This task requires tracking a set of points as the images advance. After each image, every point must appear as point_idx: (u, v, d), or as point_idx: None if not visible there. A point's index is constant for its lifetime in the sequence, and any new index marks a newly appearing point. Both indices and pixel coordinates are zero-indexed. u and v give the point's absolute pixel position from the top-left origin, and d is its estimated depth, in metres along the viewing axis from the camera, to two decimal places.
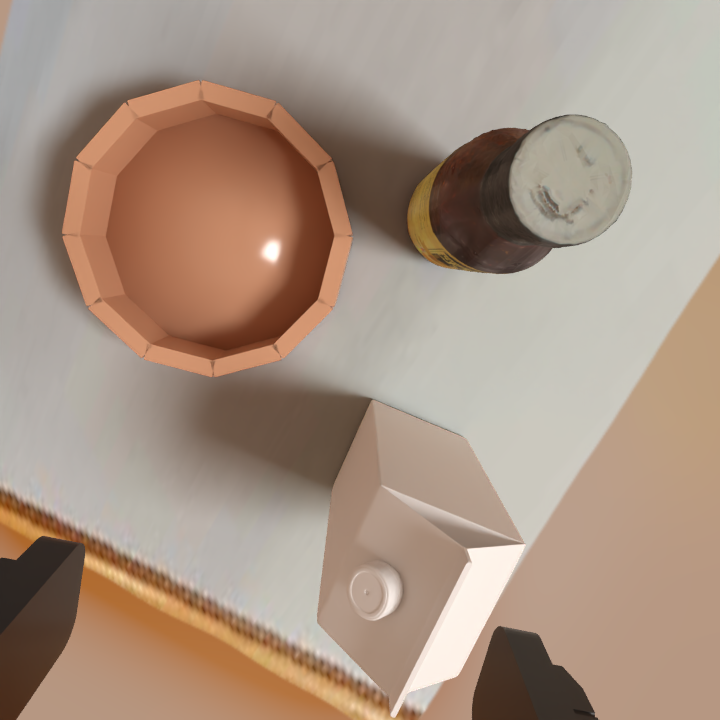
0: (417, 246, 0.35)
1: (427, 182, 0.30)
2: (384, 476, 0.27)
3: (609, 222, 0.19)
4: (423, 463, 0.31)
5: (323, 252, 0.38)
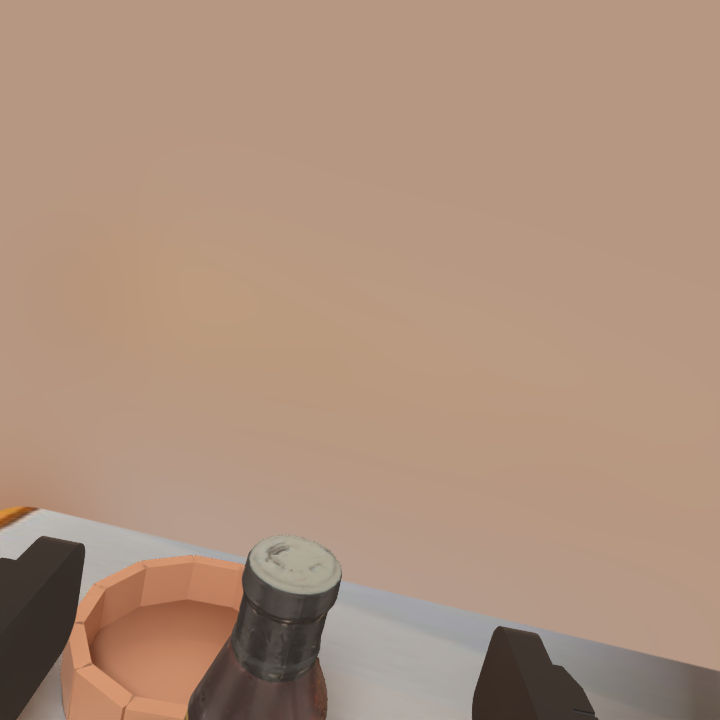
0: None
1: None
2: None
3: (270, 580, 0.23)
4: None
5: None
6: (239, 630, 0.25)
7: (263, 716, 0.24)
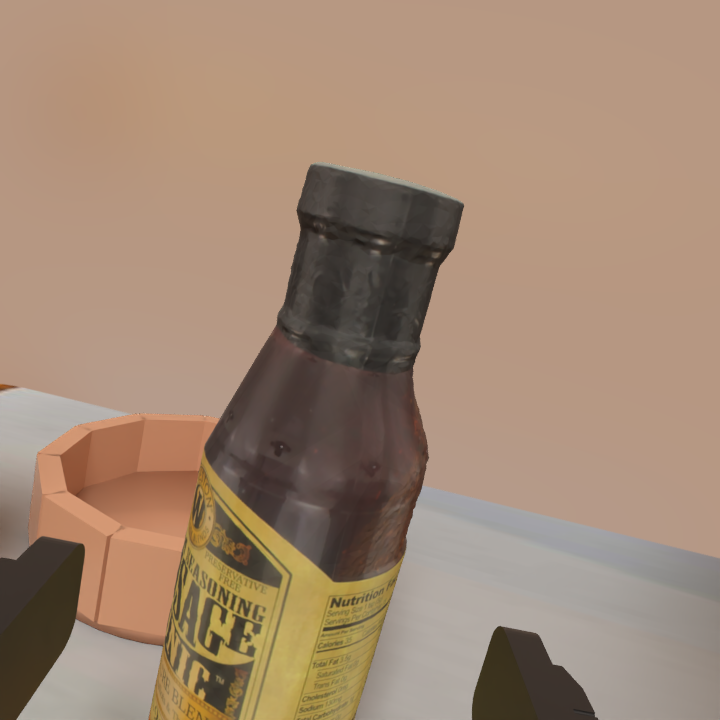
0: None
1: None
2: None
3: (353, 168, 0.13)
4: None
5: None
6: (292, 293, 0.15)
7: (334, 425, 0.14)
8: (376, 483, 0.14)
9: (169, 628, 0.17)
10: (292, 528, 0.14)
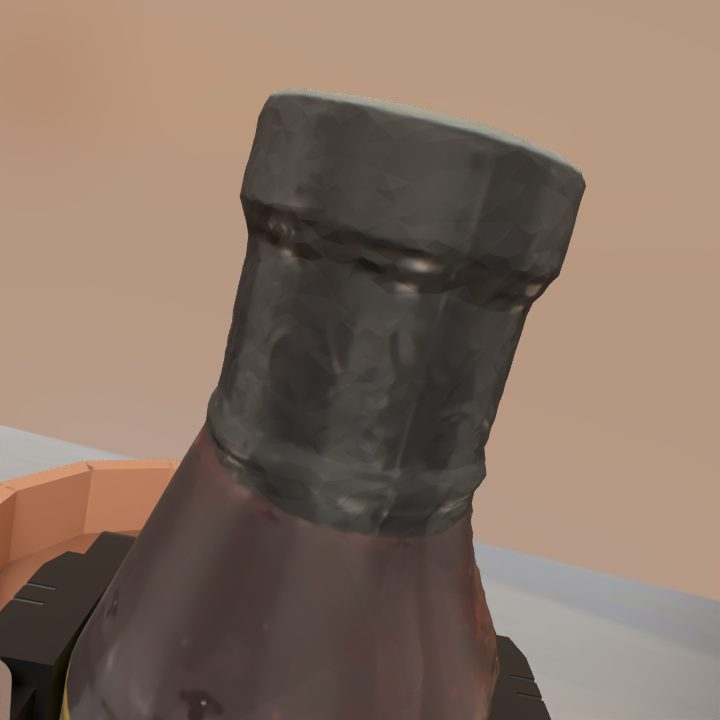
0: None
1: None
2: None
3: (355, 96, 0.06)
4: None
5: None
6: (230, 367, 0.07)
7: (316, 659, 0.07)
8: None
9: None
10: None
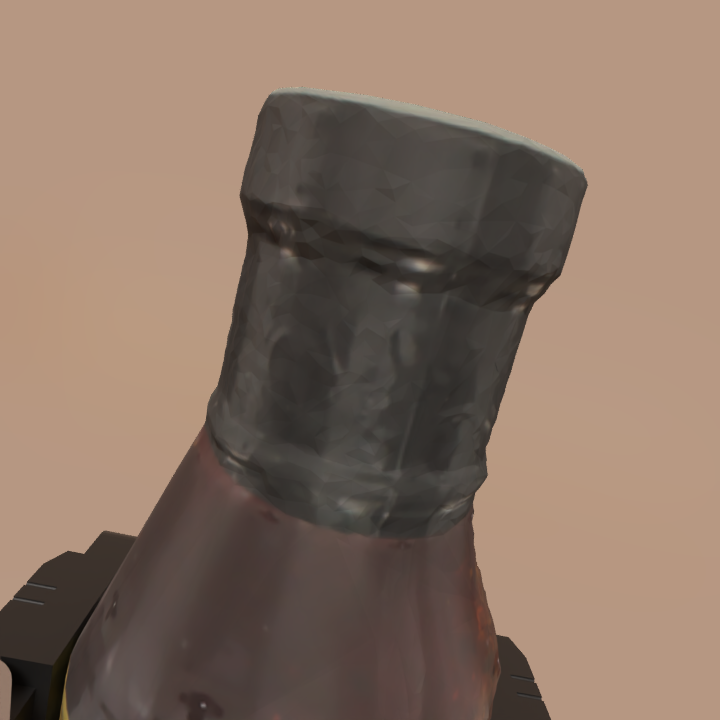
0: None
1: None
2: None
3: (355, 95, 0.06)
4: None
5: None
6: (231, 367, 0.07)
7: (315, 661, 0.06)
8: None
9: None
10: None
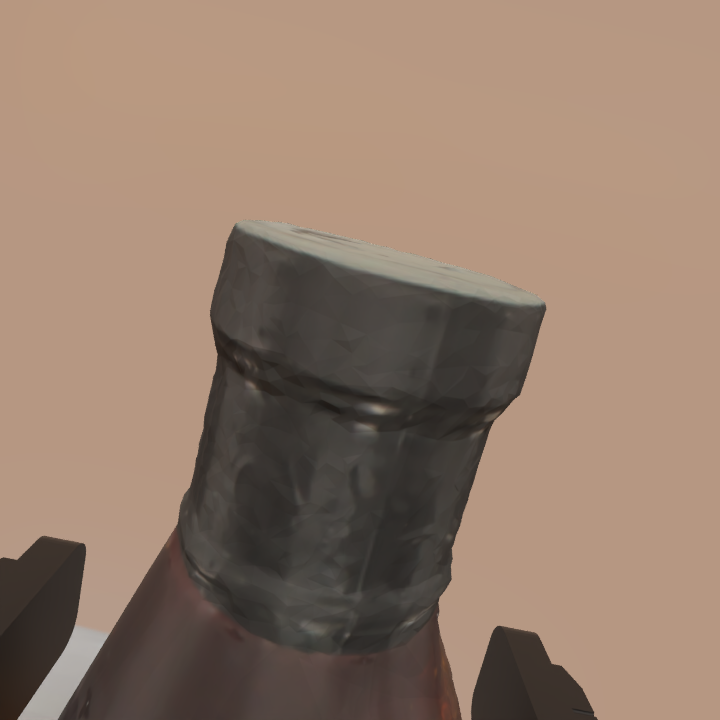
0: None
1: None
2: None
3: (315, 246, 0.06)
4: None
5: None
6: (199, 480, 0.07)
7: None
8: None
9: None
10: None
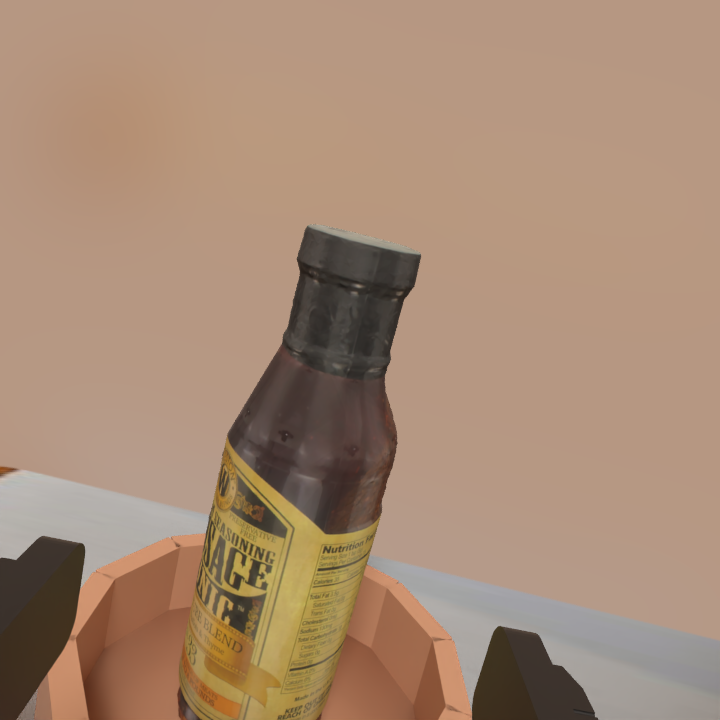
0: None
1: None
2: None
3: (337, 233, 0.18)
4: None
5: None
6: (293, 321, 0.20)
7: (324, 418, 0.19)
8: (355, 460, 0.19)
9: (200, 574, 0.22)
10: (294, 493, 0.19)
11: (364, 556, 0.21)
